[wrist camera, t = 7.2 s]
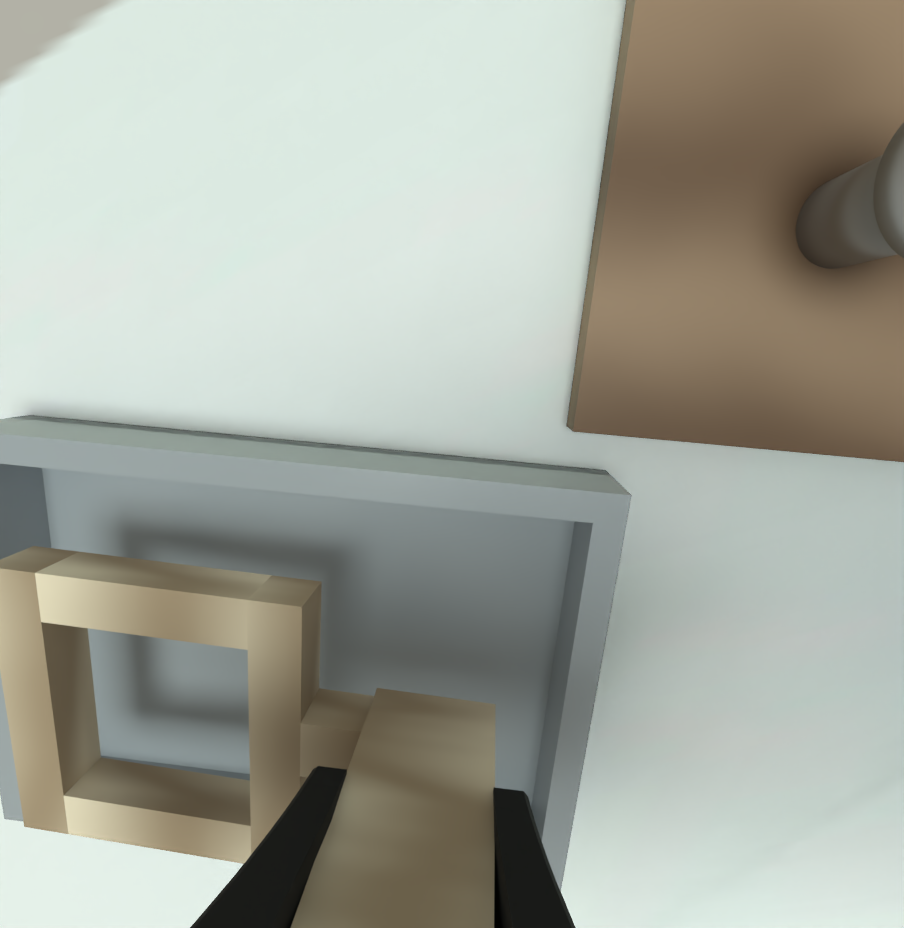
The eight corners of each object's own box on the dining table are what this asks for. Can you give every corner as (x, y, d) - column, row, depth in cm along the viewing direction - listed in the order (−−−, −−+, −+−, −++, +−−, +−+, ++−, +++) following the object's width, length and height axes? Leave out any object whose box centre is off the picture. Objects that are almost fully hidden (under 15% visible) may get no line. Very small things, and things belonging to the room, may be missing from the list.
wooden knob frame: (64, 786, 14) (-209, 1059, 8) (33, 545, 12) (-333, 697, 7) (477, 853, 13) (462, 1201, 8) (507, 604, 11) (516, 830, 6)
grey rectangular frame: (549, 814, 17) (560, 892, 14) (70, 754, 18) (4, 818, 15) (605, 470, 14) (631, 495, 12) (29, 415, 15) (-61, 427, 12)
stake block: (963, 462, 13) (1206, 517, 9) (566, 425, 14) (607, 460, 9) (1126, -13, 11) (1583, -271, 6) (632, -38, 11) (730, -296, 7)
